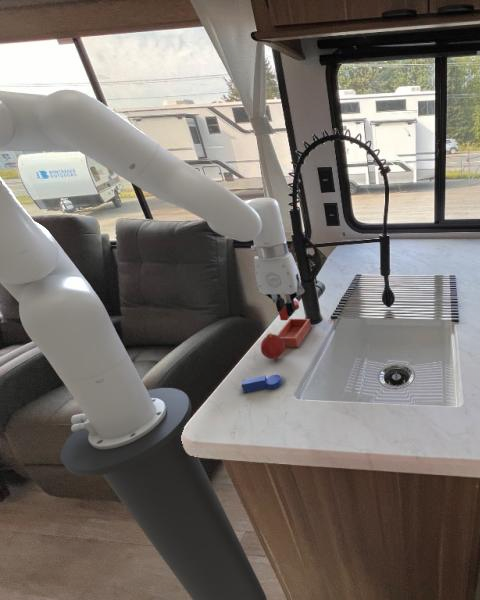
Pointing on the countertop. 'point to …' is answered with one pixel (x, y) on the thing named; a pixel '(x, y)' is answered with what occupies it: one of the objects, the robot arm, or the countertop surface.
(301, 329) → the red tub
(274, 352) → the onion
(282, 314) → the red spoon
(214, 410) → the countertop surface
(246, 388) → the blue spoon
